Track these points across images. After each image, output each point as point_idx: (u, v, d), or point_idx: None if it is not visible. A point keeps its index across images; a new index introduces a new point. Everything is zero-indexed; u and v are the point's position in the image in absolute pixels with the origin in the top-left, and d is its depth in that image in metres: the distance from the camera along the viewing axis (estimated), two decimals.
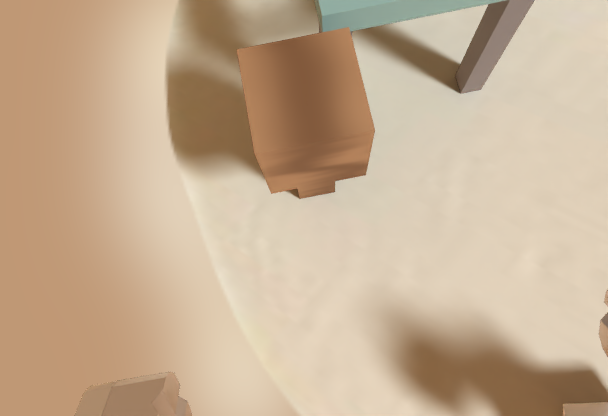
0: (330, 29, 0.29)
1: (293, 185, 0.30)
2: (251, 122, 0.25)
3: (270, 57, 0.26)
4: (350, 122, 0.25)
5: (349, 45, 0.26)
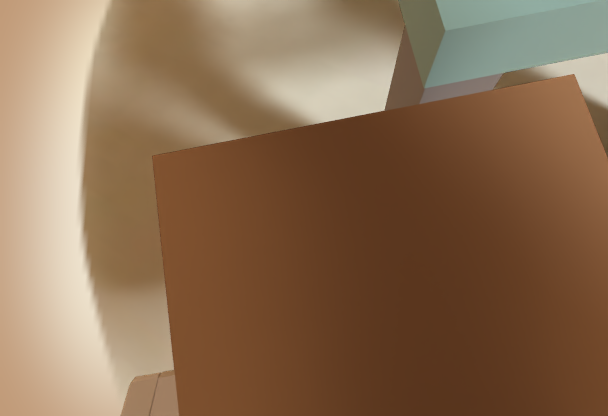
0: (452, 69, 0.10)
1: None
2: None
3: (280, 191, 0.07)
4: None
5: (587, 147, 0.07)
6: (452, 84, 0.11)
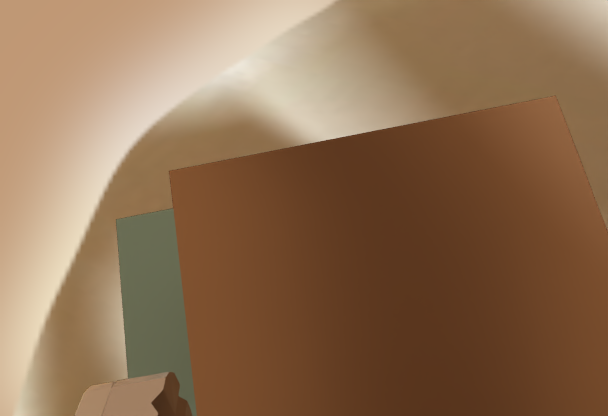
0: None
1: None
2: None
3: (286, 203, 0.07)
4: None
5: (566, 163, 0.07)
6: None
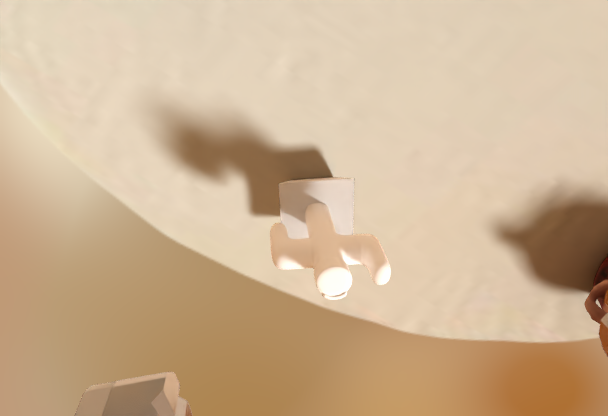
0: None
1: None
2: None
3: None
4: None
5: None
6: None
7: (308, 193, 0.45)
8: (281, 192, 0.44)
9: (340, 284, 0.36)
